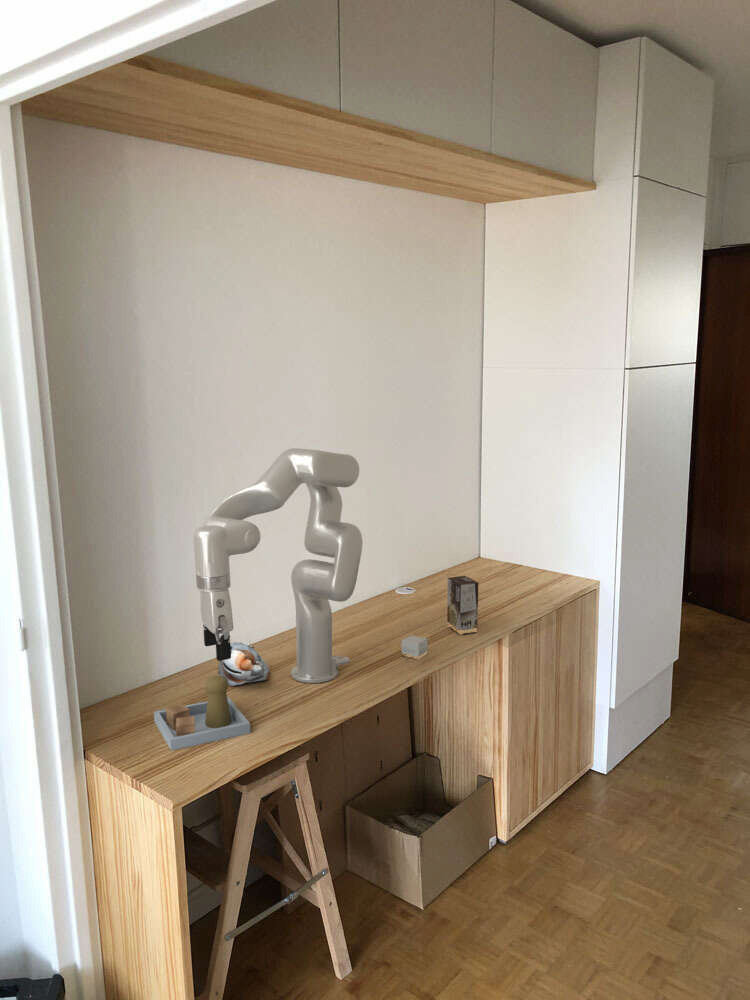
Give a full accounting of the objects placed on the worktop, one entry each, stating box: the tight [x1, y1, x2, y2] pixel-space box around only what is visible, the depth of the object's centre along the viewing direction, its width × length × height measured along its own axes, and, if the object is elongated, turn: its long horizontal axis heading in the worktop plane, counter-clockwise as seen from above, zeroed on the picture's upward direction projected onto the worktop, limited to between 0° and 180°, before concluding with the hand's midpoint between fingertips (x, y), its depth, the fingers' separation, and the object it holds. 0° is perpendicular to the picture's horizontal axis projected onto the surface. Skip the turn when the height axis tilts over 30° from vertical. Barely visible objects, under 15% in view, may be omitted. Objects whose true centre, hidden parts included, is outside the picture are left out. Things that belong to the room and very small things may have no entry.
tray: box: [153, 696, 251, 752], centre depth 191 cm, size 18×16×3 cm
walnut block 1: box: [165, 703, 190, 730], centre depth 192 cm, size 4×4×4 cm
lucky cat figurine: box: [217, 641, 271, 687], centre depth 217 cm, size 15×12×14 cm
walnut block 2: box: [176, 716, 195, 737], centre depth 186 cm, size 4×4×4 cm
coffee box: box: [446, 575, 479, 630], centre depth 257 cm, size 9×6×16 cm
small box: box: [401, 635, 429, 657], centre depth 237 cm, size 6×6×5 cm
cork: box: [204, 675, 231, 728], centre depth 193 cm, size 6×6×11 cm
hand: (217, 652), depth 190 cm, fingers open, 9 cm apart
